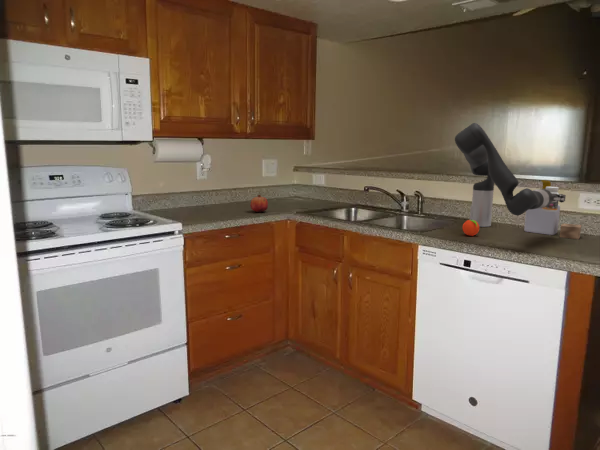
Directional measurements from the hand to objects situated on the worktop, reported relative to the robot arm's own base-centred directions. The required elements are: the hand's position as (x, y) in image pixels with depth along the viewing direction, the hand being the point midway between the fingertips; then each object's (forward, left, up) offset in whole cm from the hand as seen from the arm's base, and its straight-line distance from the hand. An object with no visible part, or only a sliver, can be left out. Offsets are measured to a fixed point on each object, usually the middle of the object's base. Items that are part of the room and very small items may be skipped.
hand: (553, 196), depth 186 cm
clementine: (-28, -16, -18) cm, 37 cm away
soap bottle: (-4, +10, -18) cm, 21 cm away
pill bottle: (-1, -3, -6) cm, 7 cm away
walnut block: (+7, +6, -18) cm, 20 cm away
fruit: (-145, -20, -18) cm, 147 cm away
